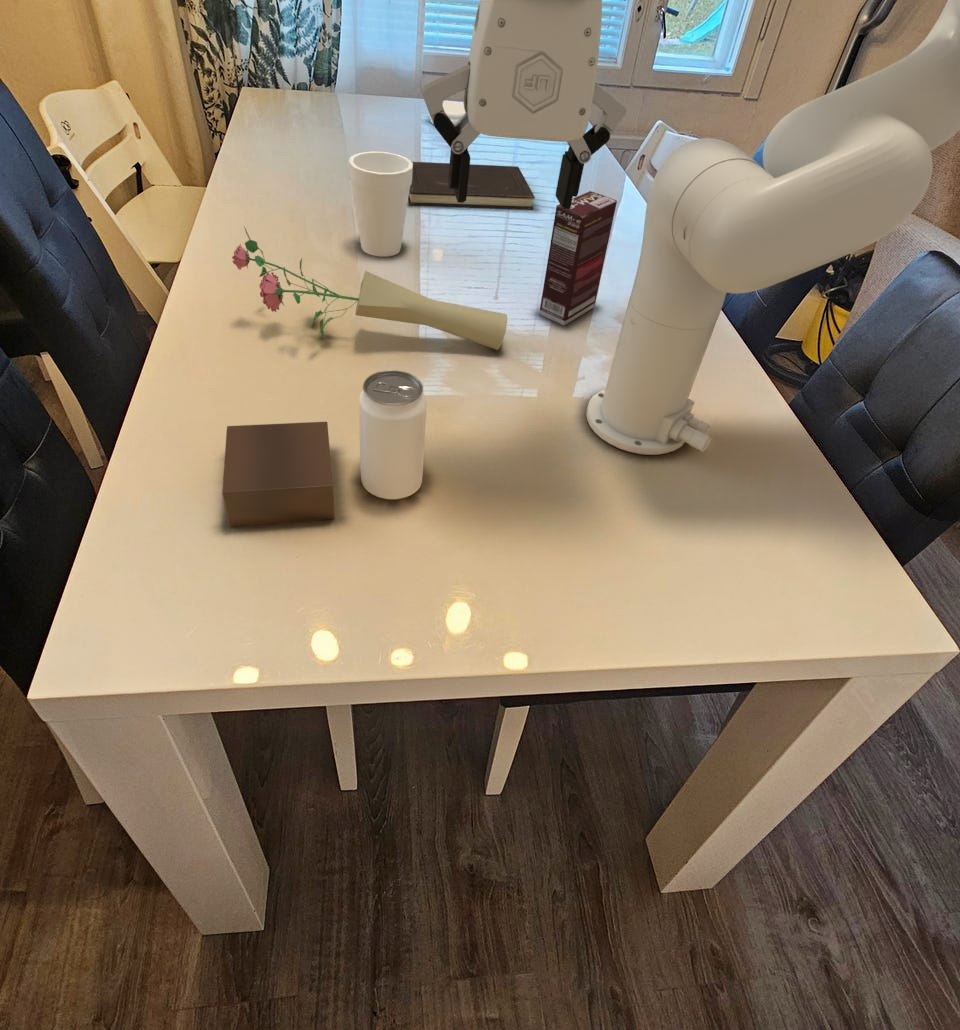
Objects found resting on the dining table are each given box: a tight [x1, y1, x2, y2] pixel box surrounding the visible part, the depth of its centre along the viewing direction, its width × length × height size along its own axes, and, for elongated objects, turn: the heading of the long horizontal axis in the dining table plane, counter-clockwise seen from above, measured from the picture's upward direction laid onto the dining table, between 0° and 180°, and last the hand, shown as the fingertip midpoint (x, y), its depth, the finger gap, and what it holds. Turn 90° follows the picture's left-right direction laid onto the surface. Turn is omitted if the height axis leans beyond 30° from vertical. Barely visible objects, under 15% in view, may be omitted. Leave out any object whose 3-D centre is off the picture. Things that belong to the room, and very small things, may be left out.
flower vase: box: [231, 225, 508, 351], centre depth 92 cm, size 12×12×35 cm
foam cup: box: [348, 150, 413, 257], centre depth 109 cm, size 10×9×13 cm
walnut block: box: [221, 421, 336, 527], centre depth 71 cm, size 10×10×4 cm
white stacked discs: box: [429, 100, 466, 125], centre depth 161 cm, size 10×10×4 cm
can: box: [358, 369, 427, 501], centre depth 70 cm, size 6×6×12 cm
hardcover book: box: [408, 161, 536, 210], centre depth 133 cm, size 16×23×2 cm
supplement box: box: [538, 190, 618, 326], centre depth 99 cm, size 9×5×16 cm, turn 141°
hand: (511, 200), depth 64 cm, fingers open, 9 cm apart
